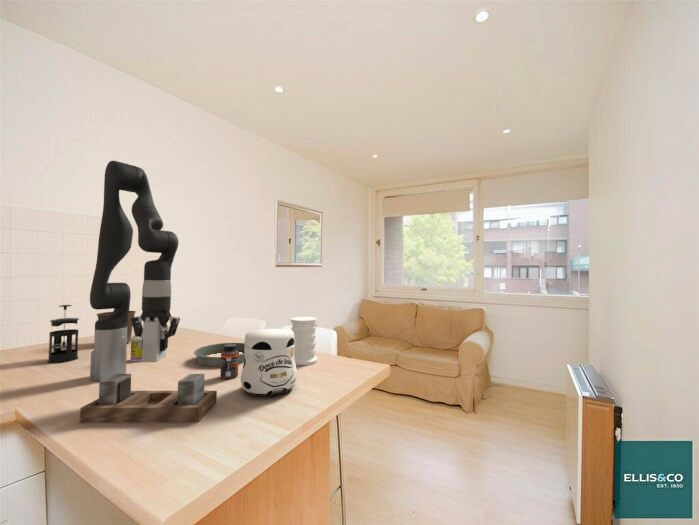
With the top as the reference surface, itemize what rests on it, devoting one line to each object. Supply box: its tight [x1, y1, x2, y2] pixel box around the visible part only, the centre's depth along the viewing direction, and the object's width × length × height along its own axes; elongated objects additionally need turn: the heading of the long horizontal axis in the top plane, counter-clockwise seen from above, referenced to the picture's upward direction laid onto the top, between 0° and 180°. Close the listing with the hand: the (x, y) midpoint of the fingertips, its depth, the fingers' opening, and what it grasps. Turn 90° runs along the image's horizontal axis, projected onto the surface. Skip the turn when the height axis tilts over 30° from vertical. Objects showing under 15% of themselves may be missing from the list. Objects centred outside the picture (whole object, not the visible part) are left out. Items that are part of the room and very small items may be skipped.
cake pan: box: [193, 342, 245, 367], centre depth 133 cm, size 25×25×4 cm
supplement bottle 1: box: [130, 335, 143, 363], centre depth 130 cm, size 7×7×13 cm
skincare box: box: [141, 321, 167, 363], centre depth 94 cm, size 6×4×12 cm
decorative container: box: [290, 316, 318, 366], centre depth 130 cm, size 12×12×18 cm
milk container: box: [240, 328, 298, 397], centre depth 99 cm, size 17×17×18 cm
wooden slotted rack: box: [79, 373, 218, 424], centre depth 82 cm, size 29×11×9 cm, turn 91°
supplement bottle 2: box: [220, 344, 239, 380], centre depth 110 cm, size 6×6×11 cm
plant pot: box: [96, 310, 137, 344], centre depth 159 cm, size 16×16×16 cm
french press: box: [47, 304, 80, 364], centre depth 130 cm, size 12×9×23 cm
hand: (154, 350), depth 94 cm, fingers closed on skincare box, 4 cm apart
